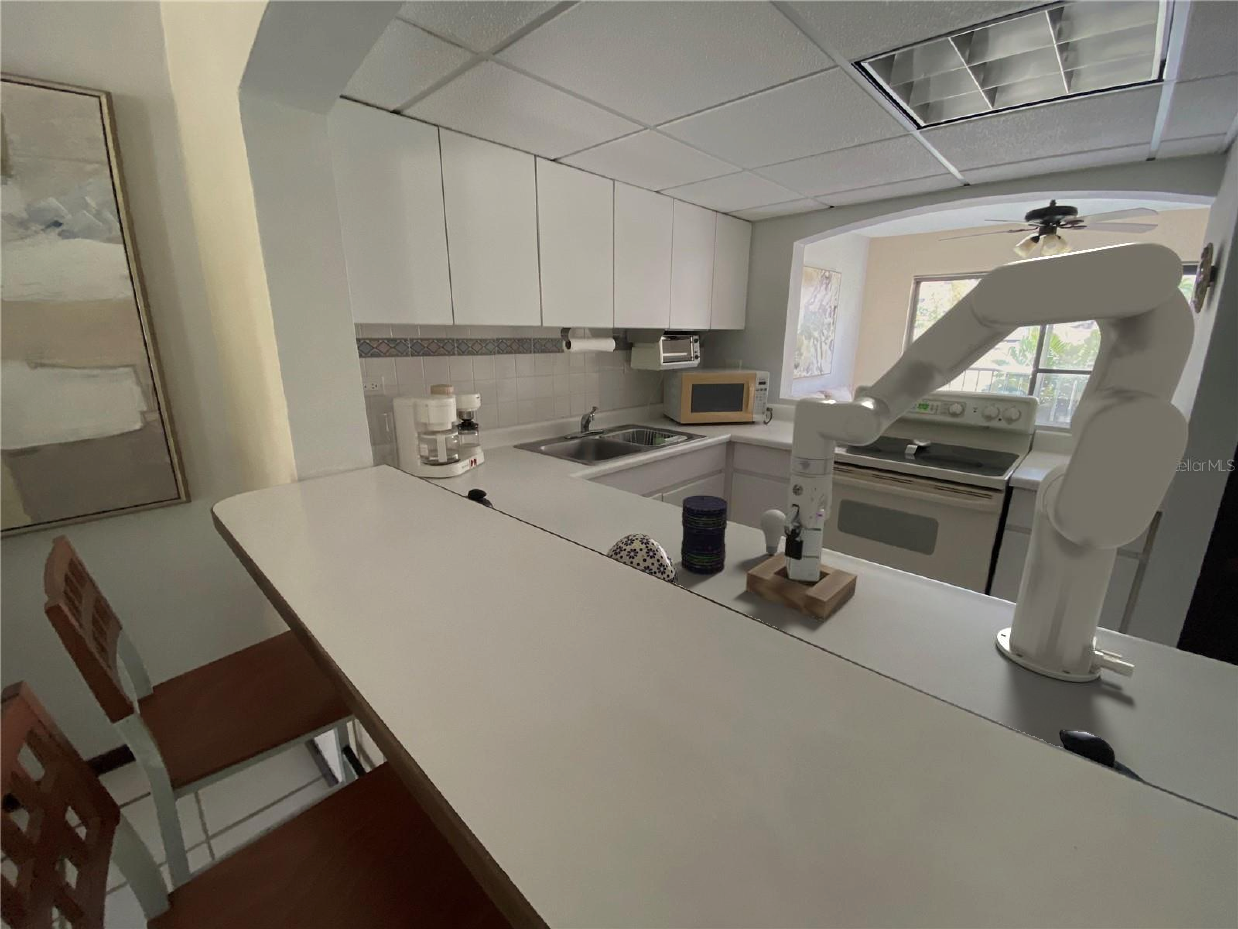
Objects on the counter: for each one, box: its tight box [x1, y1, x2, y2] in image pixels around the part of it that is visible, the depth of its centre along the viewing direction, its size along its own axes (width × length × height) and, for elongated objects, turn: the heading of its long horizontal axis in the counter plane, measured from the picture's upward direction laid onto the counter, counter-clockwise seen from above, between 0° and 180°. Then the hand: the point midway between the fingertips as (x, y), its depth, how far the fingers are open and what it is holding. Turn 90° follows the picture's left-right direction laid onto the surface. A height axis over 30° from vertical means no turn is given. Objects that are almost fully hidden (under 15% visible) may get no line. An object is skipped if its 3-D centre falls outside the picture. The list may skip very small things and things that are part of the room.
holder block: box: [745, 551, 858, 621], centre depth 98 cm, size 16×14×4 cm
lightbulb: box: [759, 509, 786, 556], centre depth 114 cm, size 6×6×11 cm
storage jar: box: [680, 495, 729, 576], centre depth 109 cm, size 10×10×15 cm
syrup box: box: [786, 509, 825, 581], centre depth 96 cm, size 6×6×14 cm
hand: (803, 550), depth 96 cm, fingers closed on syrup box, 7 cm apart
